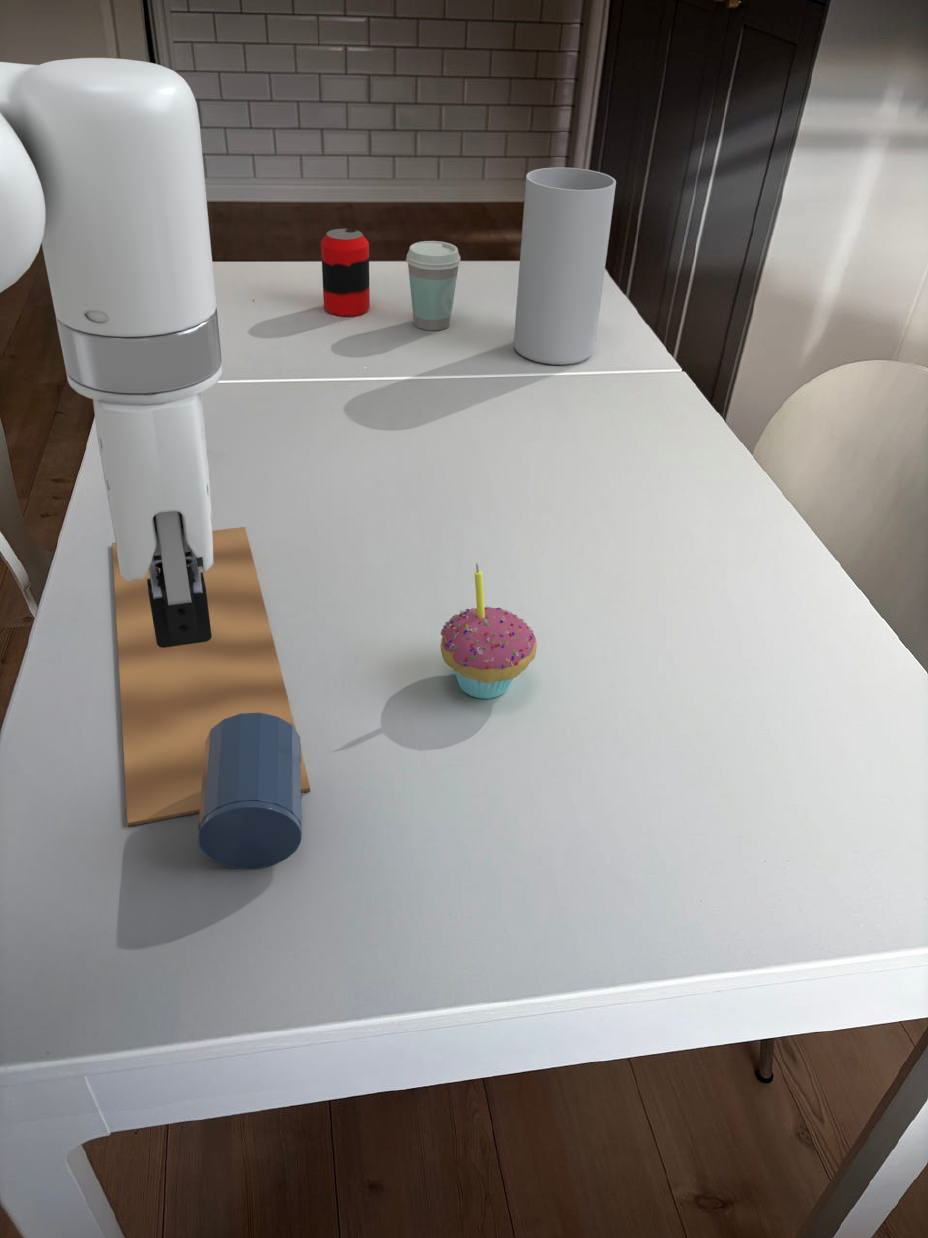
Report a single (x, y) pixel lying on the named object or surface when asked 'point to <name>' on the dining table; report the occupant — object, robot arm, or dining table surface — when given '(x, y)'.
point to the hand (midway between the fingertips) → (183, 636)
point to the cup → (251, 792)
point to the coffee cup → (432, 283)
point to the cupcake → (486, 647)
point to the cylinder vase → (562, 263)
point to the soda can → (345, 272)
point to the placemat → (192, 681)
